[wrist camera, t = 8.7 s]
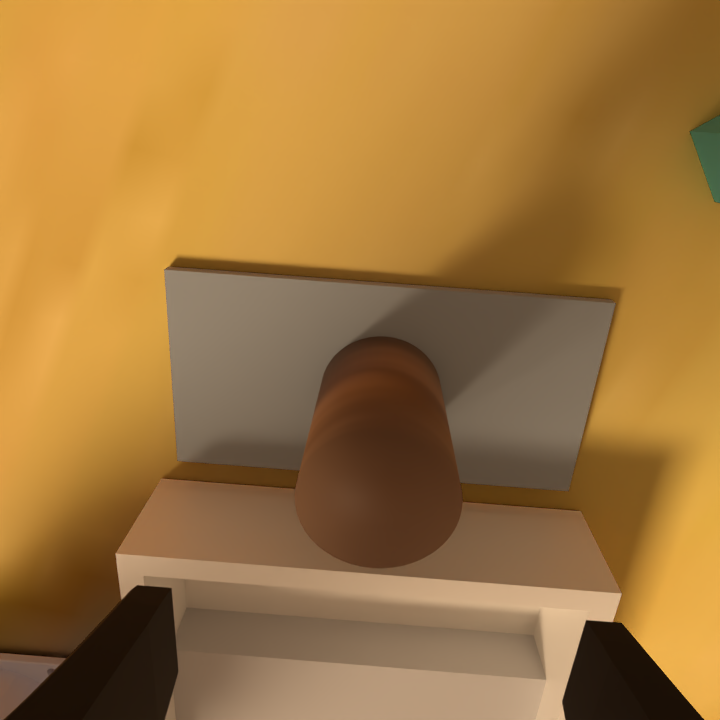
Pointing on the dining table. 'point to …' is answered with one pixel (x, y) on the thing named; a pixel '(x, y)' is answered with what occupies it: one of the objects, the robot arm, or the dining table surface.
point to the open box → (365, 611)
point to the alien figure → (709, 153)
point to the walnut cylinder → (379, 458)
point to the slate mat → (390, 319)
